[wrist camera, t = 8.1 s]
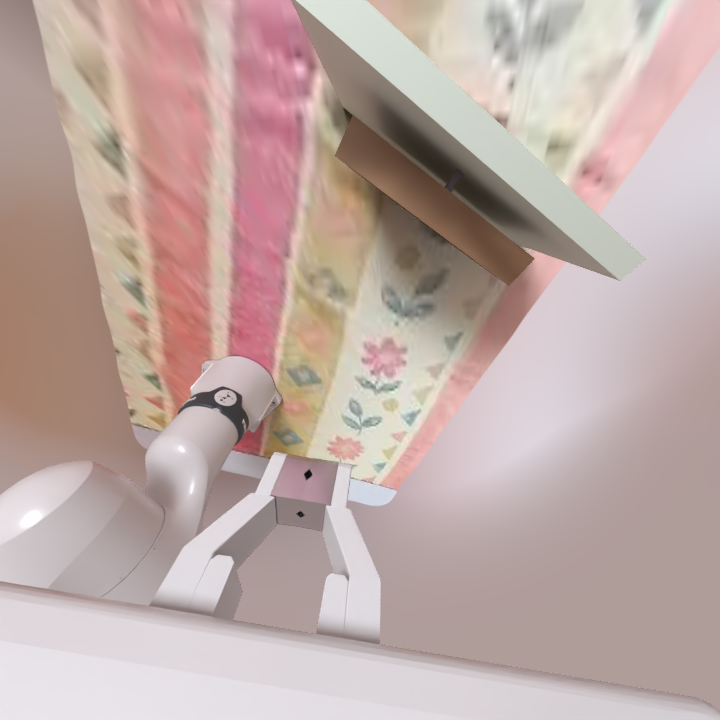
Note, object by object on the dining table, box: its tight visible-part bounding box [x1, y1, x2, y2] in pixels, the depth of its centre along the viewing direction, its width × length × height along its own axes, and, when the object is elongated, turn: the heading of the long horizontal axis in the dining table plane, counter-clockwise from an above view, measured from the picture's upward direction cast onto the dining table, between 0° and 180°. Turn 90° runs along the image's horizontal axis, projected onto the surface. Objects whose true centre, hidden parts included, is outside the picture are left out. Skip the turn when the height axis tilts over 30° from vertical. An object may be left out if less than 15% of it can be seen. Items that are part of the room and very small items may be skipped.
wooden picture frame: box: [335, 115, 534, 285], centre depth 29 cm, size 3×20×14 cm, turn 58°
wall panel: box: [291, 0, 646, 281], centre depth 27 cm, size 8×30×22 cm, turn 59°
